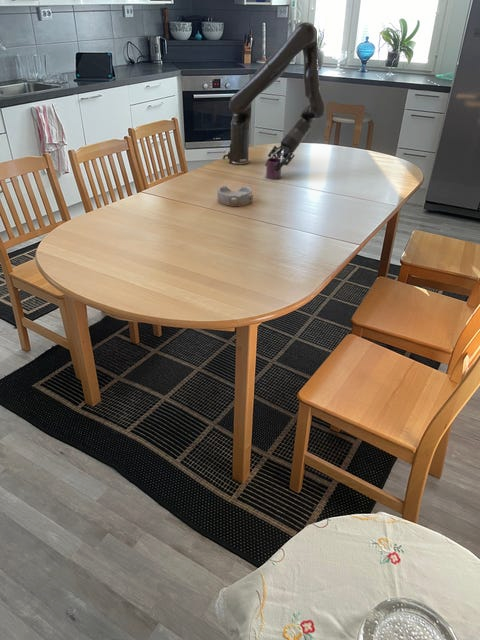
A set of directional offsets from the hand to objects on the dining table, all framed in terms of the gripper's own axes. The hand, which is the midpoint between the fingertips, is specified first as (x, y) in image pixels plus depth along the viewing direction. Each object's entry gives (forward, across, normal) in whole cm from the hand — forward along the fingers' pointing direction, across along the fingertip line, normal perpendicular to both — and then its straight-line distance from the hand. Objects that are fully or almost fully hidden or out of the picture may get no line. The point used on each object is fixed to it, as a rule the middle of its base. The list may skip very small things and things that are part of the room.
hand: (271, 168), depth 231 cm
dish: (+26, +20, -20) cm, 39 cm away
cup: (+2, 0, +4) cm, 5 cm away
